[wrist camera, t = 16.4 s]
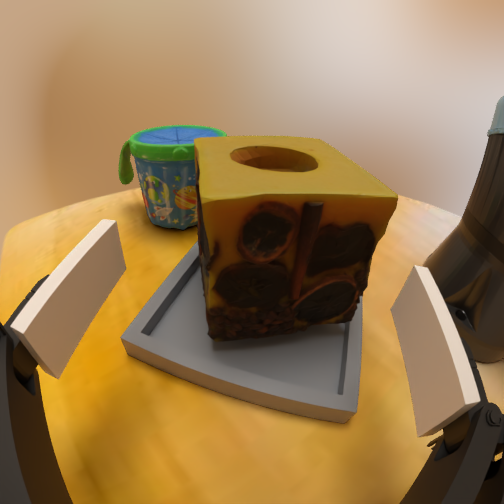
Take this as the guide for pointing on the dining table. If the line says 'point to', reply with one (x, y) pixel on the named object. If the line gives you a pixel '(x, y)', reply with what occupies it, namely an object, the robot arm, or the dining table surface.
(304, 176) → the candle
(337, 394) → the tray
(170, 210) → the snack cup
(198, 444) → the dining table surface
